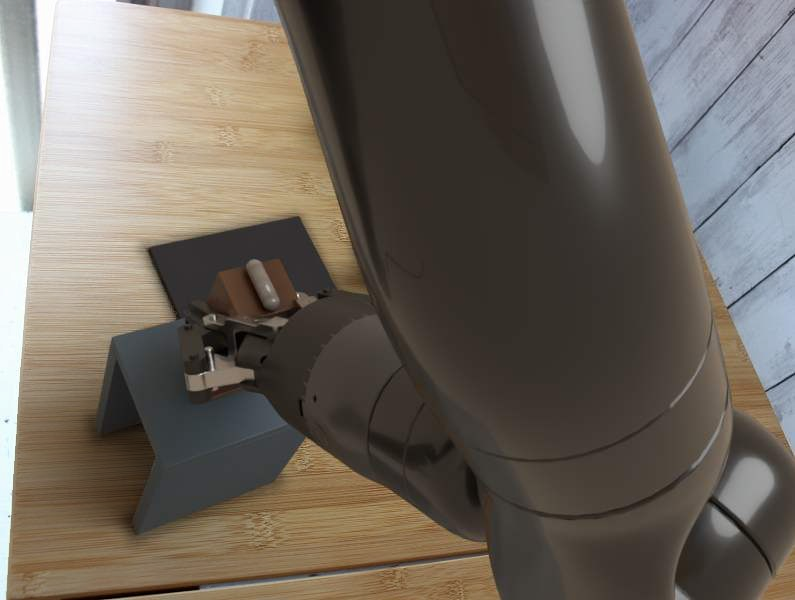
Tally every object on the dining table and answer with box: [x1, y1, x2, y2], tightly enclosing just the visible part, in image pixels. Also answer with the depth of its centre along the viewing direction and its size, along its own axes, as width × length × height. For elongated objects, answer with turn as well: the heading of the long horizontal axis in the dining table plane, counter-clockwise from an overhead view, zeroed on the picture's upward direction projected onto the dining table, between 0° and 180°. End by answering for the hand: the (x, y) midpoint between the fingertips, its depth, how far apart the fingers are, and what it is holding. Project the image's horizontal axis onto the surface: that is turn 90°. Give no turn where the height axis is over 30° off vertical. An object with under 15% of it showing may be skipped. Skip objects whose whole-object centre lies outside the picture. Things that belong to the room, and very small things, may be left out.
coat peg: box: [204, 259, 298, 404], centre depth 53 cm, size 5×4×11 cm
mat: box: [148, 215, 338, 320], centre depth 81 cm, size 16×12×1 cm
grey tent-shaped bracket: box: [94, 318, 307, 536], centre depth 64 cm, size 12×10×15 cm
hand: (228, 308), depth 54 cm, fingers closed on coat peg, 4 cm apart
